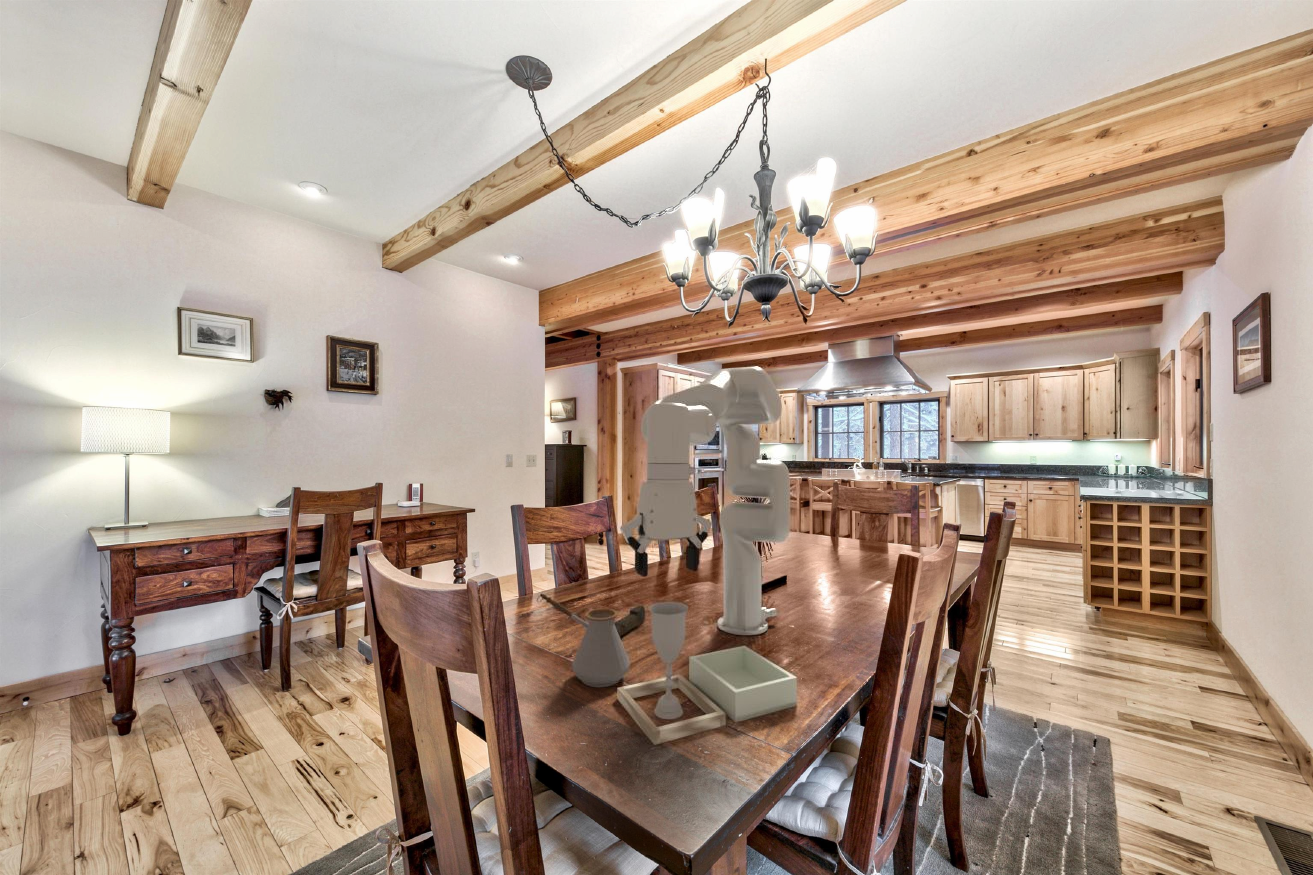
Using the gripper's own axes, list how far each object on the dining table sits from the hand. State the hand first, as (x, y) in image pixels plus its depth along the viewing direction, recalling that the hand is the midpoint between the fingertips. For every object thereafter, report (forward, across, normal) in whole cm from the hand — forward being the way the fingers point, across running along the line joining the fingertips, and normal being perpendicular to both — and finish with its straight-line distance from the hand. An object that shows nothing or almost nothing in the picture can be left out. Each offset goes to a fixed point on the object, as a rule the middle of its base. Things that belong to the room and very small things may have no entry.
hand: (667, 572), depth 90 cm
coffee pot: (+24, +9, -22) cm, 34 cm away
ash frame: (+24, -1, 0) cm, 24 cm away
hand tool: (+24, -8, -40) cm, 47 cm away
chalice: (+24, -1, 0) cm, 25 cm away
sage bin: (+24, -16, 0) cm, 29 cm away
